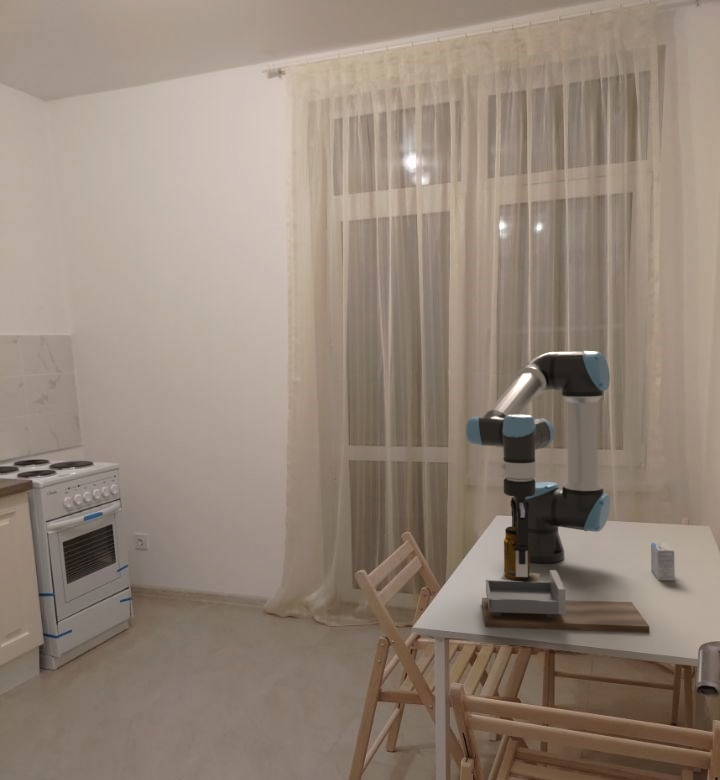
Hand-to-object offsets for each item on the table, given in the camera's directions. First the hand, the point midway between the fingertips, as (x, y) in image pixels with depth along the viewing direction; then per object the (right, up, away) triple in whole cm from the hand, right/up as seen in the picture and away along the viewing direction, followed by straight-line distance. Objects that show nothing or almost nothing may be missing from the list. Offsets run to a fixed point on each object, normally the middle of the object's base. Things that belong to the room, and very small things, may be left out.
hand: (520, 571), depth 154 cm
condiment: (0, -2, 0) cm, 2 cm away
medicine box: (+47, -9, +25) cm, 54 cm away
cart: (0, -9, +1) cm, 9 cm away
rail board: (+10, -11, -1) cm, 15 cm away
